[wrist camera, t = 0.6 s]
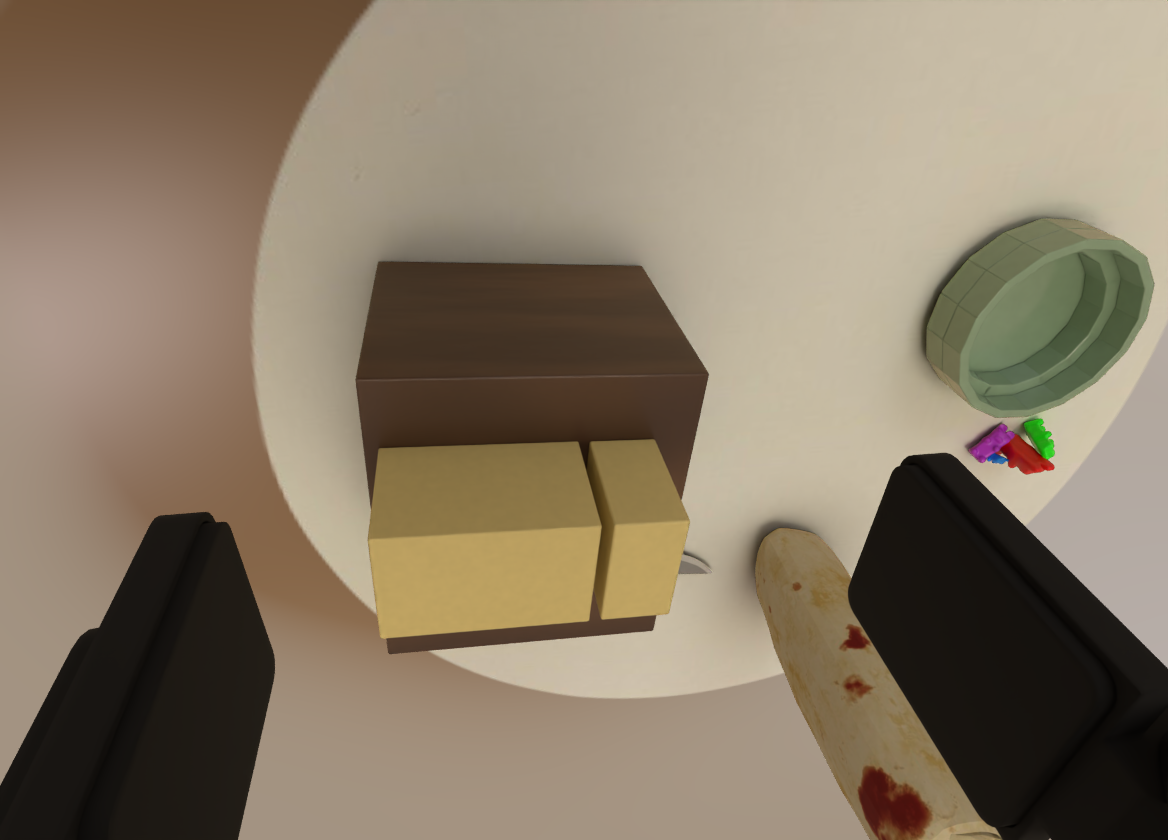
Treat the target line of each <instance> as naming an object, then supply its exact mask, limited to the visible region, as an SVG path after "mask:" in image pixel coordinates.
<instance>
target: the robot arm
mask: <svg viewBox="0 0 1168 840" xmlns="http://www.w3.org/2000/svg"><path fill="white" fill-rule="evenodd" d="M848 600H849V604H850V607H851V609H852V611H853V613H854V615H855V616H856V618H857V620H858V621H859V623H860V625H861V626H862V628H863V629H864V631H865V633H866V634H867V636H868V637H869V639H870V641H871V642H872V644H873V646H874V647H875V649H876V650H877V652H878V654H879V655H880V657H881V658H882V660H883V662H884V663H885V665H886V667H887V668H888V670H889V671H890V673H891V675H892V676H893V678H894V680H895V681H896V683H897V684H898V686H899V688H900V689H901V691H902V692H903V694H904V696H905V697H906V699H907V701H908V702H909V704H910V705H911V707H912V709H913V710H914V712H915V714H916V715H917V717H918V718H919V720H920V722H921V723H922V725H923V726H924V728H925V730H926V731H927V733H928V735H929V736H930V738H931V739H932V741H933V743H934V744H935V746H936V748H937V749H938V751H939V752H940V754H941V756H942V757H943V759H944V760H945V762H946V764H947V765H948V767H949V769H950V770H951V772H952V773H953V775H954V777H955V778H956V780H957V782H958V783H959V785H960V786H961V788H962V790H963V791H964V793H965V794H966V796H967V798H968V799H969V801H970V803H971V804H972V806H973V807H974V809H975V811H976V812H977V814H978V815H979V816H980V818H981V819H982V820H983V821H984V822H985V823H986V824H988V825H989V826H991V827H995V828H996V830H997V831H998V833H999V835H1000V836H1001V838H1002V839H1003V840H1049V838H1051V839H1052V840H1168V669H1167V667H1166V666H1165V665H1164V664H1163V663H1162V662H1161V661H1160V660H1159V659H1158V658H1157V657H1155V655H1154V654H1153V653H1152V652H1151V651H1150V650H1149V649H1148V648H1146V647H1145V645H1144V644H1142V642H1141V641H1140V640H1139V639H1138V638H1137V637H1136V636H1135V635H1134V634H1132V632H1130V630H1128V629H1127V627H1126V626H1124V625H1123V623H1122V622H1120V621H1119V619H1117V618H1116V617H1115V616H1114V615H1113V614H1112V613H1111V612H1110V611H1109V610H1108V609H1107V608H1106V607H1105V606H1104V605H1103V604H1102V603H1101V602H1100V601H1099V600H1098V599H1097V598H1096V597H1095V596H1094V595H1093V594H1092V593H1091V592H1090V591H1089V590H1088V589H1087V588H1086V587H1085V586H1084V585H1083V584H1082V583H1081V582H1080V581H1079V580H1078V579H1077V578H1076V577H1075V576H1074V575H1073V574H1072V573H1071V572H1070V571H1069V570H1068V569H1067V568H1066V567H1065V566H1064V565H1063V564H1062V563H1061V562H1060V561H1059V560H1058V559H1057V558H1056V557H1055V556H1054V555H1053V554H1052V553H1051V552H1050V551H1049V550H1048V549H1047V548H1046V547H1045V546H1044V545H1043V544H1042V543H1041V542H1040V541H1039V540H1038V539H1037V538H1036V537H1035V536H1034V535H1033V534H1032V533H1031V532H1030V531H1029V530H1028V529H1027V528H1026V527H1025V526H1024V525H1023V524H1022V523H1021V522H1020V521H1019V520H1018V519H1017V518H1016V517H1015V516H1014V515H1013V514H1012V513H1011V512H1010V511H1009V510H1008V509H1007V508H1006V507H1005V506H1004V505H1003V504H1002V503H1001V502H1000V501H999V500H998V499H997V498H996V497H995V496H994V495H993V494H992V493H991V492H990V491H989V490H988V489H987V488H986V487H985V486H984V485H983V484H982V483H981V482H980V481H979V480H978V479H977V478H976V477H975V476H974V475H973V474H972V473H971V472H970V471H969V470H968V469H967V468H966V467H965V466H964V465H963V464H962V463H961V462H960V461H959V460H958V459H957V458H956V457H954V456H953V455H951V454H948V453H935V454H923V455H912V456H908V457H906V458H905V459H904V460H903V461H902V463H901V465H900V466H898V467H896V468H895V469H894V470H893V472H892V474H891V476H890V479H889V481H888V484H887V487H886V489H885V492H884V495H883V497H882V500H881V503H880V505H879V508H878V510H877V513H876V516H875V518H874V521H873V524H872V526H871V529H870V531H869V534H868V537H867V539H866V542H865V545H864V547H863V550H862V552H861V555H860V558H859V560H858V563H857V566H856V568H855V571H854V574H853V576H852V579H851V581H850V584H849V587H848ZM274 674H275V659H274V653H273V649H272V647H271V644H270V641H269V638H268V635H267V632H266V629H265V626H264V623H263V620H262V618H261V615H260V612H259V609H258V606H257V603H256V600H255V597H254V594H253V591H252V589H251V586H250V583H249V580H248V577H247V574H246V571H245V569H244V565H243V562H242V560H241V557H240V554H239V551H238V548H237V545H236V543H235V540H234V537H233V533H232V531H231V528H230V526H229V525H228V523H227V522H217V523H216V522H215V520H214V518H213V516H212V515H211V514H210V513H208V512H199V513H187V514H175V515H163V516H158V517H156V518H155V519H154V520H153V521H152V523H151V525H150V526H149V528H148V530H147V532H146V534H145V536H144V538H143V540H142V542H141V545H140V547H139V549H138V550H137V552H136V554H135V556H134V558H133V560H132V563H131V564H130V566H129V569H128V571H127V573H126V575H125V577H124V579H123V581H122V583H121V585H120V587H119V589H118V591H117V593H116V595H115V597H114V599H113V601H112V603H111V605H110V607H109V609H108V611H107V613H106V615H105V617H104V619H103V621H102V623H101V625H100V627H99V628H95V629H90V630H88V631H87V632H85V633H84V634H83V635H82V636H80V637H79V639H78V640H77V642H76V643H75V645H74V646H73V648H72V649H71V651H70V653H69V655H68V657H67V659H66V660H65V662H64V664H63V666H62V668H61V670H60V672H59V674H58V676H57V678H56V680H55V682H54V683H53V685H52V687H51V689H50V691H49V693H48V695H47V697H46V699H45V701H44V703H43V705H42V707H41V708H40V711H39V713H38V714H37V716H36V718H35V720H34V722H33V724H32V726H31V728H30V730H29V731H28V733H27V735H26V737H25V739H24V741H23V743H22V745H21V747H20V749H19V751H18V753H17V754H16V756H15V758H14V760H13V762H12V764H11V766H10V768H9V770H8V772H7V774H6V776H5V778H4V779H3V781H2V783H1V785H0V840H238V837H239V832H240V828H241V823H242V819H243V814H244V810H245V806H246V801H247V796H248V792H249V788H250V782H251V779H252V774H253V770H254V766H255V761H256V757H257V752H258V748H259V743H260V739H261V734H262V730H263V725H264V721H265V717H266V712H267V708H268V703H269V699H270V694H271V690H272V685H273V681H274Z"/></svg>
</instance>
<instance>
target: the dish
mask: <svg viewBox="0 0 1168 840" xmlns="http://www.w3.org/2000/svg"><path fill="white" fill-rule="evenodd" d="M1153 289H1154V281H1153V277H1152V273H1151V270H1150V266H1149V263H1148V259H1147V257H1146V256H1145V255H1144V254H1142V253H1141V252H1140V251H1138V250H1137V249H1135V248H1134V247H1132V246H1131V245H1129V244H1128V243H1127V242H1125V241H1124V240H1122V239H1119V238H1117V237H1115V236H1112V235H1110V234H1108V233H1106V232H1103V231H1101V230H1098V229H1096V228H1094V227H1092V226H1089V225H1087V224H1085V223H1083V222H1080V221H1078V220H1072V219H1039V220H1036V221H1034V222H1031V223H1028V224H1025V225H1023V226H1020V227H1017V228H1014V229H1012V230H1009V231H1006V232H1004V233H1002V234H1001V235H999V236H998V237H997V238H995V239H994V240H993V241H991V242H990V243H989V244H987V245H986V246H985V247H983V248H982V249H980V250H979V251H978V252H976V253H975V254H974V255H972V256H971V257H970V258H968V260H967V261H966V262H965V263H964V264H963V265H962V267H961V268H960V269H959V270H958V272H957V273H956V274H955V275H954V277H953V278H952V279H951V280H950V282H949V283H948V284H947V285H946V287H945V288H944V289H943V290H942V293H941V294H940V295H939V298H938V300H937V303H936V305H935V308H934V310H933V312H932V315H931V317H930V320H929V322H928V325H927V328H926V356H927V359H928V361H929V362H930V364H931V366H932V367H933V369H934V371H935V372H936V374H937V376H938V377H939V379H941V380H942V381H943V382H944V383H945V384H946V385H947V386H949V387H950V388H951V389H952V390H953V391H954V392H955V393H957V394H958V395H959V396H960V397H961V398H962V399H963V400H965V401H966V402H967V403H968V404H969V405H970V406H971V407H973V408H975V409H977V410H980V411H982V412H984V413H986V414H988V415H990V416H993V417H995V418H1007V417H1028V416H1031V415H1034V414H1037V413H1040V412H1042V411H1045V410H1048V409H1051V408H1054V407H1057V406H1059V405H1062V404H1064V403H1065V402H1067V401H1068V400H1070V399H1072V398H1073V397H1075V396H1076V395H1078V394H1079V393H1081V392H1082V391H1084V390H1085V389H1087V388H1088V387H1090V386H1092V385H1093V384H1095V383H1096V382H1097V381H1098V380H1099V379H1100V378H1101V377H1102V376H1103V375H1104V374H1105V373H1106V372H1107V371H1108V370H1109V369H1110V368H1111V367H1112V366H1113V365H1114V364H1115V363H1116V362H1117V361H1118V360H1119V359H1120V358H1121V357H1122V356H1123V355H1124V354H1125V353H1126V352H1127V350H1128V349H1129V347H1130V346H1131V344H1132V342H1133V341H1134V339H1135V337H1136V336H1137V334H1138V332H1139V331H1140V329H1141V327H1142V326H1143V324H1144V322H1145V321H1146V319H1147V315H1148V311H1149V307H1150V302H1151V298H1152V293H1153Z"/></svg>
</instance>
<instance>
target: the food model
mask: <svg viewBox="0 0 1168 840" xmlns="http://www.w3.org/2000/svg"><path fill="white" fill-rule="evenodd" d="M755 579H756V590H757V596H758V599H759V601H760V604H761V606H762V609H763V612H764V615H765V618H766V621H767V624H768V627H769V630H770V634H771V638H772V641H773V645H774V649H775V651H776V653H777V656H778V658H779V661H780V663H781V665H782V668H783V670H784V672H785V675H786V677H787V680H788V682H789V685H790V687H791V690H792V692H793V695H794V697H795V699H796V702H797V704H798V706H799V708H800V709H801V712H802V713H803V715H804V718H805V720H806V721H807V723H808V725H809V727H810V729H811V731H812V733H813V735H814V737H815V739H816V741H817V743H818V745H819V747H820V749H821V751H822V753H823V755H824V757H825V759H826V761H827V763H828V765H829V767H830V769H831V771H832V773H833V775H834V777H835V779H836V781H837V783H838V785H839V787H840V789H841V791H842V792H843V794H844V796H845V797H846V799H847V801H848V802H849V804H850V805H851V807H852V809H853V810H854V812H855V814H856V815H857V817H858V819H859V821H860V822H861V824H862V826H863V828H864V830H865V832H866V833H867V835H868V837H869V839H870V840H1003V839H1002V838H1001V836H1000V835H999V833H998V831H997V830H996V828H995V827H991V826H989V825H988V824H986V823H985V822H984V821H983V820H982V819H981V818H980V816H979V815H978V814H977V812H976V811H975V809H974V807H973V806H972V804H971V803H970V801H969V799H968V798H967V796H966V794H965V793H964V791H963V790H962V788H961V786H960V785H959V783H958V782H957V780H956V778H955V777H954V775H953V773H952V772H951V770H950V769H949V767H948V765H947V764H946V762H945V760H944V759H943V757H942V756H941V754H940V752H939V751H938V749H937V748H936V746H935V744H934V743H933V741H932V739H931V738H930V736H929V735H928V733H927V731H926V730H925V728H924V726H923V725H922V723H921V722H920V720H919V718H918V717H917V715H916V714H915V712H914V710H913V709H912V707H911V705H910V704H909V702H908V701H907V699H906V697H905V696H904V694H903V692H902V691H901V689H900V688H899V686H898V684H897V683H896V681H895V680H894V678H893V676H892V675H891V673H890V671H889V670H888V668H887V667H886V665H885V663H884V662H883V660H882V658H881V657H880V655H879V654H878V652H877V650H876V649H875V647H874V646H873V644H872V642H871V641H870V639H869V637H868V636H867V634H866V633H865V631H864V629H863V628H862V626H861V625H860V623H859V621H858V620H857V618H856V616H855V615H854V613H853V611H852V609H851V607H850V604H849V600H848V587H849V584H850V581H851V579H852V578H851V577H850V575H849V574H848V572H847V571H846V569H845V567H844V566H843V564H842V563H841V562H840V560H839V559H838V558H837V556H836V555H835V554H834V552H833V551H832V549H831V548H830V547H829V546H828V545H827V544H826V543H825V542H824V541H823V540H822V539H821V538H819V537H818V536H817V535H816V534H813V533H810V532H807V531H802V530H796V529H789V528H777V529H776V530H774V531H773V532H771V533H770V534H769V535H768V536H766V537H765V538H764V539H763V541H762V543H761V546H760V548H759V551H758V554H757V560H756V569H755Z"/></svg>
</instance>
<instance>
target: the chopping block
mask: <svg viewBox="0 0 1168 840" xmlns="http://www.w3.org/2000/svg"><path fill="white" fill-rule="evenodd" d="M708 376H709V373H708V372H707V370H706V368H705V367H704V365H703V364H702V362H701V360H700V359H699V357H698V356H697V354H696V352H695V351H694V349H693V348H692V346H691V344H690V343H689V341H688V340H687V338H686V336H685V335H684V333H683V332H682V330H681V328H680V327H679V325H678V324H677V322H676V320H675V319H674V317H673V316H672V314H671V312H670V311H669V309H668V307H667V306H666V304H665V303H664V301H663V299H662V298H661V296H660V295H659V293H658V291H657V290H656V288H655V287H654V285H653V283H652V282H651V280H650V279H649V277H648V275H647V274H646V272H645V271H644V269H643V267H642V266H615V265H553V264H491V263H429V262H378V264H377V270H376V275H375V280H374V286H373V291H372V296H371V301H370V307H369V312H368V317H367V322H366V328H365V333H364V338H363V343H362V349H361V354H360V359H359V364H358V370H357V375H356V388H357V396H358V405H359V413H360V422H361V430H362V438H363V447H364V455H365V463H366V472H367V480H368V489H369V497H370V505H371V508H372V500H373V492H374V483H375V475H376V466H377V458H378V450H379V448H399V447H429V446H459V445H488V444H518V443H547V442H578V443H579V446H580V450H581V454H582V457H583V461H584V464H585V468H586V471H587V462H588V453H589V444H590V442H591V441H616V440H646V439H654V440H655V441H656V444H657V446H658V448H659V451H660V453H661V455H662V457H663V460H664V462H665V464H666V467H667V469H668V471H669V474H670V476H671V478H672V481H673V483H674V485H675V487H676V490H677V492H678V494H679V497H680V499H681V500H682V495H683V491H684V486H685V482H686V477H687V472H688V468H689V463H690V459H691V454H692V449H693V445H694V440H695V436H696V431H697V427H698V422H699V417H700V413H701V408H702V404H703V399H704V394H705V390H706V385H707V381H708ZM655 619H656V615H651V616H639V617H627V618H615V619H604V620H603V619H601V617H600V613H599V609H598V605H597V601H596V597H595V592H594V588H593V595H592V602H591V610H590V617H589V621H584V622H572V623H561V624H549V625H537V626H525V627H513V628H502V629H490V630H478V631H466V632H454V633H443V634H431V635H419V636H407V637H395V638H386V639H387V648H388V653H389V654H397V653H408V652H419V651H430V650H442V649H453V648H464V647H475V646H487V645H498V644H509V643H520V642H531V641H543V640H554V639H565V638H576V637H588V636H599V635H610V634H621V633H632V632H644V631H652V630H653V628H654V624H655Z"/></svg>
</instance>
